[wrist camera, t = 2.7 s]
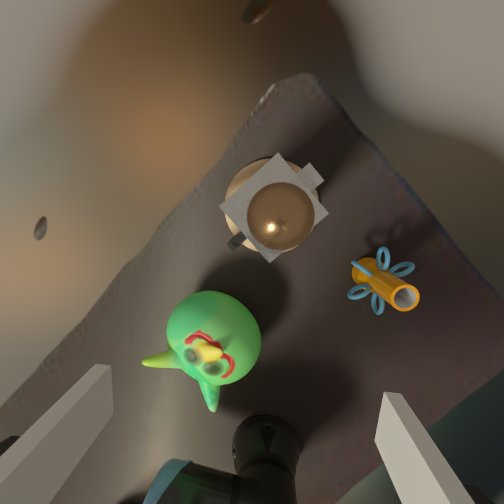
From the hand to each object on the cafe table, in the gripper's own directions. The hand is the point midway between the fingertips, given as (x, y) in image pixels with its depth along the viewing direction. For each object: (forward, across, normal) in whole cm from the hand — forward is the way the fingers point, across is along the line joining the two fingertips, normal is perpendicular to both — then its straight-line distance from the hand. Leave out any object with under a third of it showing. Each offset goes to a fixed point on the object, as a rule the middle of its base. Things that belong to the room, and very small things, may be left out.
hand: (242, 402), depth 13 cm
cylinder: (+41, -21, +4) cm, 46 cm away
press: (+40, -1, -8) cm, 41 cm away
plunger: (+26, -1, -8) cm, 27 cm away
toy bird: (+41, +8, +17) cm, 45 cm away
